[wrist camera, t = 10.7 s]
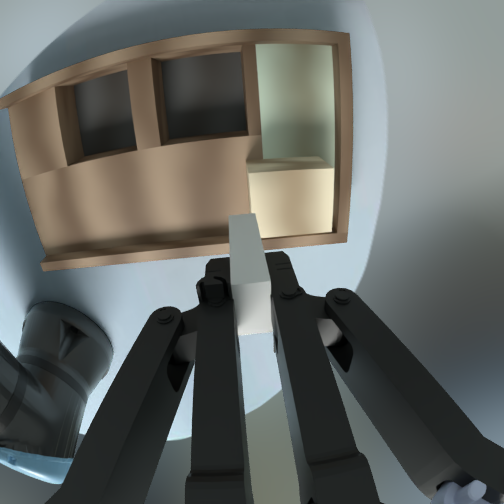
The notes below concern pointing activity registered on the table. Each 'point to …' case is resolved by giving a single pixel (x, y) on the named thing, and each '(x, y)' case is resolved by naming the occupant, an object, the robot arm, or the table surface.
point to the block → (291, 195)
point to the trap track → (178, 141)
